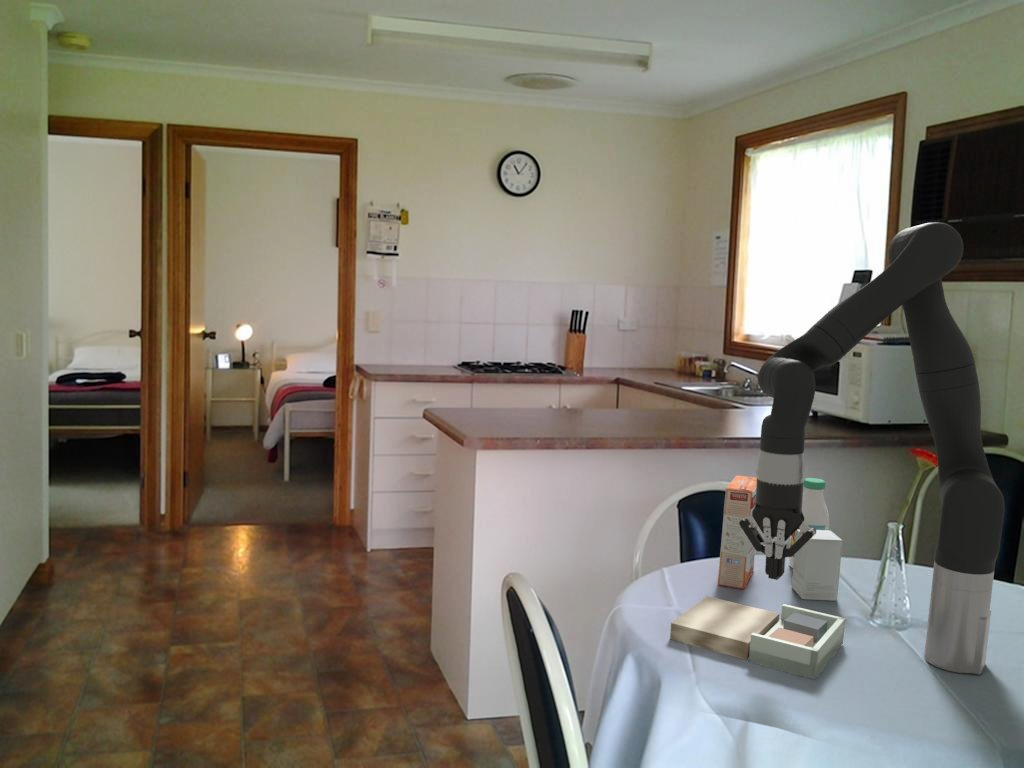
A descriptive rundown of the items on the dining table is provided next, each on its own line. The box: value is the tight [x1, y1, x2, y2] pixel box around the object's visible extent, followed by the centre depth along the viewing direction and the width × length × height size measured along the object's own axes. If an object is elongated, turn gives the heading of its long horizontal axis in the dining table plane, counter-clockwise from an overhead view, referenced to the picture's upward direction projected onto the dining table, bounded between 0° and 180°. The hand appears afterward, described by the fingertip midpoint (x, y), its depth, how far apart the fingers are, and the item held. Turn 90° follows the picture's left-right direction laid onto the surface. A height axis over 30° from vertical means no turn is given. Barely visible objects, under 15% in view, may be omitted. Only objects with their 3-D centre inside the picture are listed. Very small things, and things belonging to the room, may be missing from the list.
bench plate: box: [669, 595, 780, 661], centre depth 172 cm, size 14×17×3 cm
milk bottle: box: [788, 477, 830, 569], centre depth 211 cm, size 8×8×20 cm
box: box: [748, 603, 846, 681], centre depth 165 cm, size 11×18×5 cm, turn 147°
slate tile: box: [783, 613, 828, 643], centre depth 168 cm, size 6×5×2 cm
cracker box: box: [717, 474, 759, 590], centre depth 202 cm, size 14×6×21 cm, turn 158°
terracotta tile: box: [768, 628, 814, 648], centre depth 161 cm, size 6×5×2 cm
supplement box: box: [791, 529, 843, 602], centre depth 195 cm, size 7×7×13 cm
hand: (774, 577), depth 162 cm, fingers closed
